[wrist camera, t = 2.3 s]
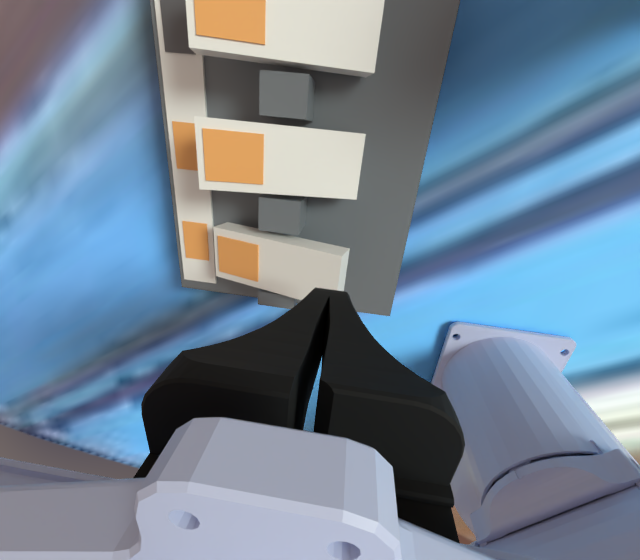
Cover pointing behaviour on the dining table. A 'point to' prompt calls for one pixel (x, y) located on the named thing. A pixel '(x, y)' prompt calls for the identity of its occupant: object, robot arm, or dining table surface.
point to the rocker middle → (277, 159)
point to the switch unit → (319, 113)
